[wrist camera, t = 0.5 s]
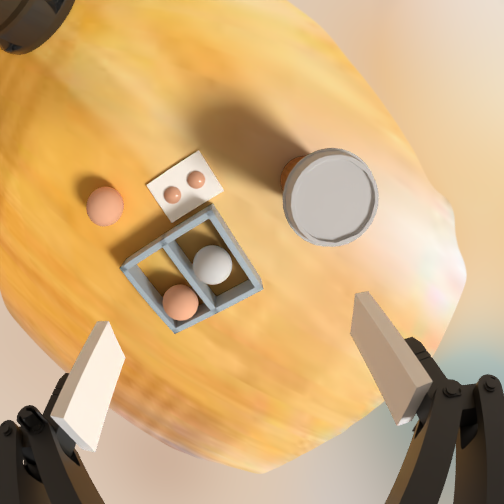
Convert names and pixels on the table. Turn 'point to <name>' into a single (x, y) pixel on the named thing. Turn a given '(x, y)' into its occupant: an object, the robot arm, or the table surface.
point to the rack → (192, 271)
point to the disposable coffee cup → (329, 196)
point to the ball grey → (212, 264)
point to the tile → (185, 186)
